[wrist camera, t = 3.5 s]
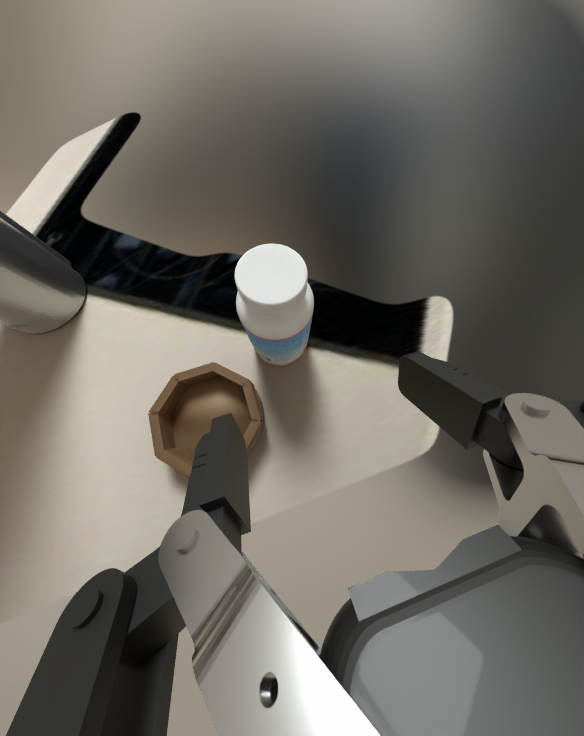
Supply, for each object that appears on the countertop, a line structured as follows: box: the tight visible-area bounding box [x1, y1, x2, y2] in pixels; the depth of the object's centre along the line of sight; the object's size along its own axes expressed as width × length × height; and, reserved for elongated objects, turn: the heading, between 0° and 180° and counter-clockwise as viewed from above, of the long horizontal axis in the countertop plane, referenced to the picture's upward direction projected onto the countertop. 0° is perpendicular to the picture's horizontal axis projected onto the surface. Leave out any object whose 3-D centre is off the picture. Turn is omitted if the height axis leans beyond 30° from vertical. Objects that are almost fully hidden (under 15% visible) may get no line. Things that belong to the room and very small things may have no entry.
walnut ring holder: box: [149, 363, 264, 477], centre depth 20 cm, size 10×10×3 cm
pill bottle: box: [235, 244, 314, 365], centre depth 18 cm, size 6×6×11 cm
